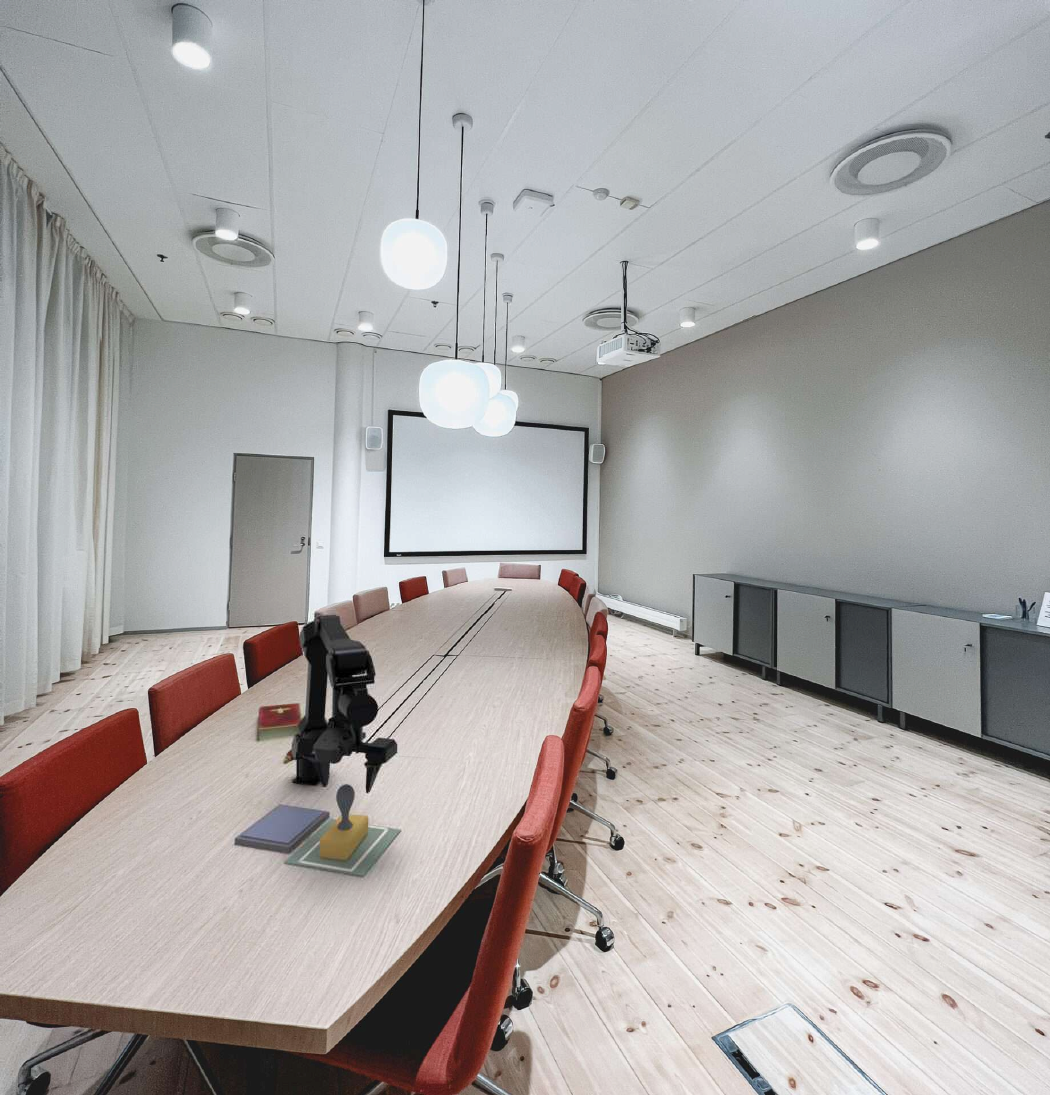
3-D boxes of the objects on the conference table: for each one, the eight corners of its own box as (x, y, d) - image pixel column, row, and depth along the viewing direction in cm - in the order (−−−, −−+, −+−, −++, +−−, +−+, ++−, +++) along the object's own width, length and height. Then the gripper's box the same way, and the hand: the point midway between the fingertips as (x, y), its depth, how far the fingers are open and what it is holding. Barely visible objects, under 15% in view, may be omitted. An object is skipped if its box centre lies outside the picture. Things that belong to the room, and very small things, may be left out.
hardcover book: (257, 743, 164) (257, 728, 164) (258, 718, 183) (258, 705, 183) (302, 737, 169) (302, 723, 169) (299, 714, 188) (299, 702, 188)
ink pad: (234, 844, 113) (234, 836, 113) (279, 809, 127) (279, 802, 127) (289, 853, 110) (289, 845, 110) (329, 817, 124) (329, 810, 124)
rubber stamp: (347, 860, 108) (348, 798, 108) (318, 857, 109) (319, 795, 108) (368, 832, 118) (369, 775, 117) (341, 829, 119) (342, 772, 118)
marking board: (284, 863, 107) (284, 861, 107) (331, 820, 123) (331, 818, 123) (363, 877, 104) (363, 875, 104) (401, 831, 119) (401, 829, 119)
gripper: (278, 719, 106) (278, 802, 107) (372, 729, 102) (370, 816, 103) (313, 701, 117) (312, 776, 118) (399, 710, 113) (397, 788, 114)
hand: (346, 789), depth 113 cm, fingers open, 9 cm apart
